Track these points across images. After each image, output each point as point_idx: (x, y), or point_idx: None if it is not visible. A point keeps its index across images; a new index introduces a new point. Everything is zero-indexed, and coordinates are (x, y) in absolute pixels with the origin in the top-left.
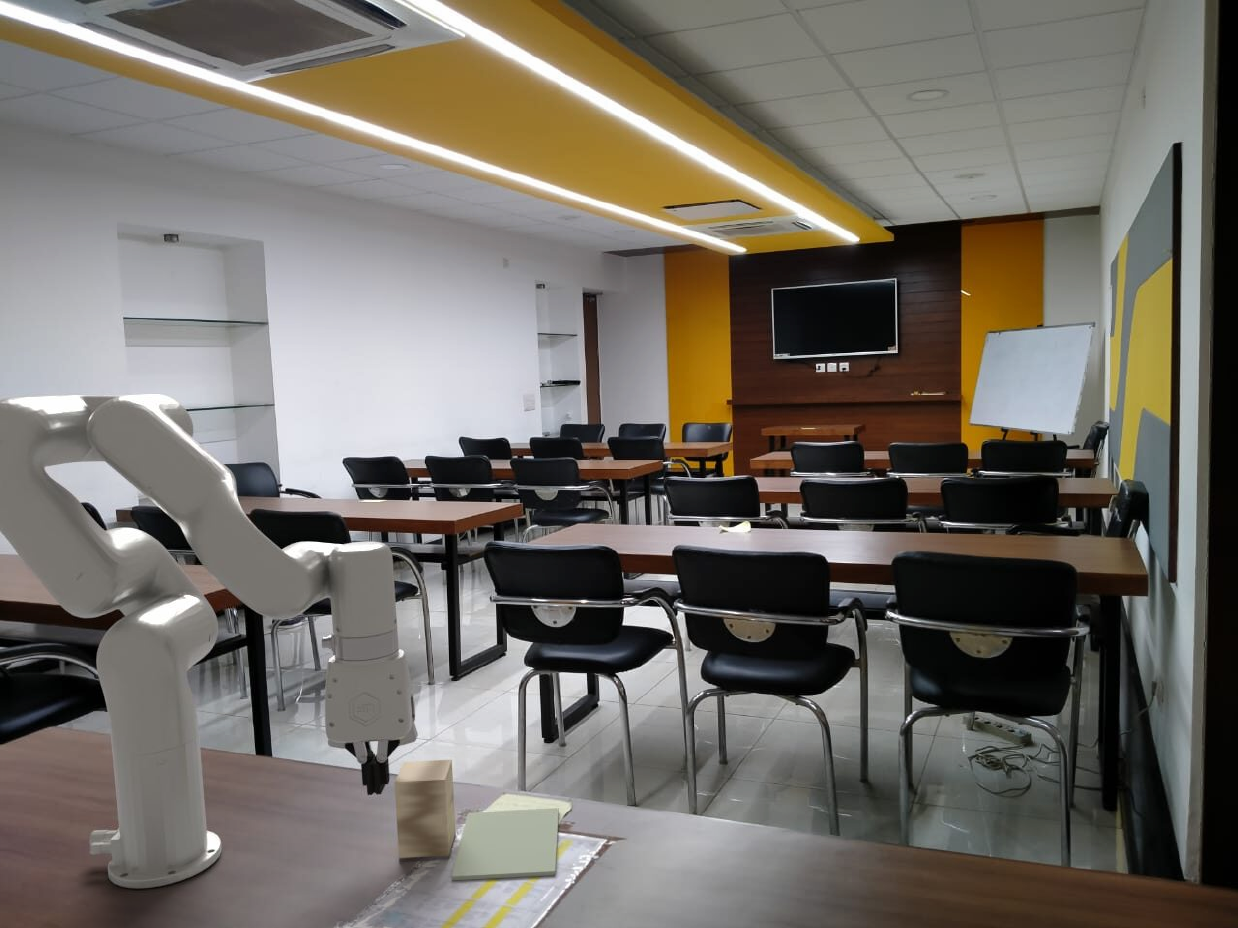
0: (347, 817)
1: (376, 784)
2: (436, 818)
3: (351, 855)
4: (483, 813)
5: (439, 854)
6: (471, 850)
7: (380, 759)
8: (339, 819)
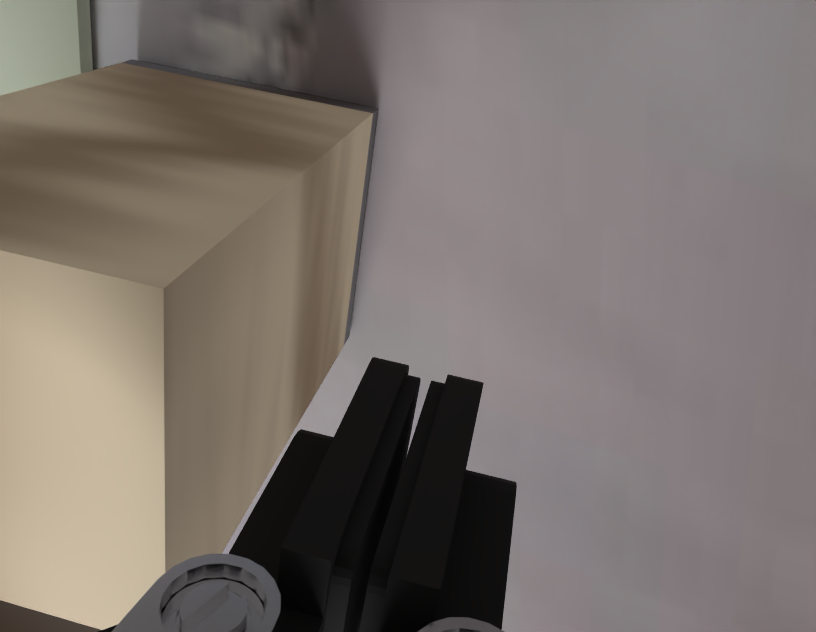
0: (630, 605)
1: (381, 407)
2: (42, 115)
3: (626, 265)
4: None
5: (162, 70)
6: (19, 77)
7: (247, 601)
8: (667, 603)
